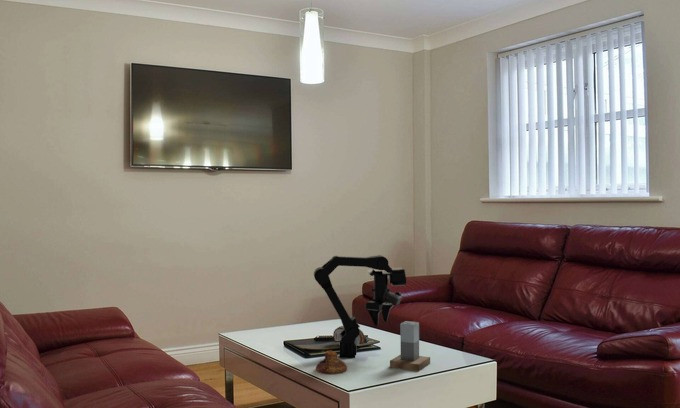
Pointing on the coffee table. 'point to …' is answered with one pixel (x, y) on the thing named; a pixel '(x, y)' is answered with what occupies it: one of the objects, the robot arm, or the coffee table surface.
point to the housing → (409, 340)
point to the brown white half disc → (358, 340)
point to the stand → (410, 363)
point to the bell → (331, 364)
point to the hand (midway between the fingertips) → (381, 323)
